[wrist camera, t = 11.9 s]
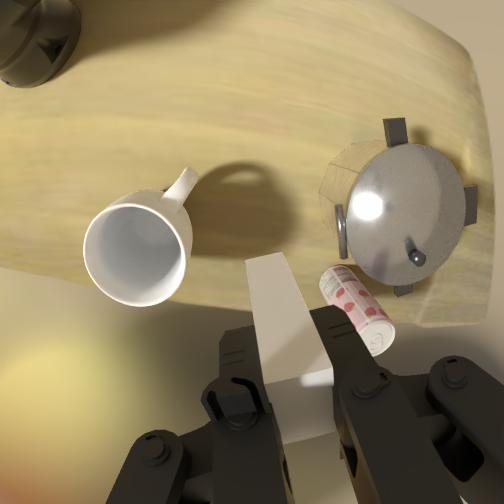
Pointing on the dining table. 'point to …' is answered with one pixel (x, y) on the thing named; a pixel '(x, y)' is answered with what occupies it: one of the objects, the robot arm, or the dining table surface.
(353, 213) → the lid
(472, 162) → the dining table surface
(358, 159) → the pot
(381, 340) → the beverage can
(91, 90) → the dining table surface
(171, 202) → the mug
